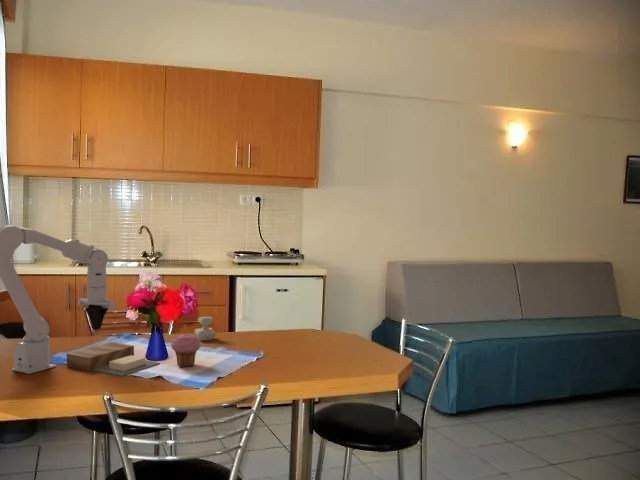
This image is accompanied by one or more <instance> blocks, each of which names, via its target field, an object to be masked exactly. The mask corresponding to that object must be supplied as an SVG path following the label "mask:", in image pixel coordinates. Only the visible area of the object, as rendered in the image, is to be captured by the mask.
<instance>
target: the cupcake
mask: <svg viewBox="0 0 640 480" xmlns="http://www.w3.org/2000/svg"><path fill="white" fill-rule="evenodd" d="M200 348H201V340H200V339H199V338H198V337H197V336H196V335H194V334H190V333H189V334H188V333H183V334H179V335H178V336H176V337H175V338H174V339H173V340H172V342H171V349H172V350H173V351H174V352H175V356H176V364H177V366H178V367H180V368H181V367H182V368H184V367H194V366H195V362H196V354H197V351H198V350H199V349H200Z"/></svg>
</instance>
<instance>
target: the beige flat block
mask: <svg viewBox="0 0 640 480" xmlns="http://www.w3.org/2000/svg"><path fill="white" fill-rule="evenodd" d="M145 360H146V357H143V356H138V355H134V356H132V355H130V356H127V357H123V358H120V359H117V360H113V361H110V362H109V368H111V369H116V370H121V371H125V370H129V369H132V368H135V367H138V366H141V365H144V364H145Z"/></svg>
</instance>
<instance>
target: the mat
mask: <svg viewBox="0 0 640 480" xmlns="http://www.w3.org/2000/svg"><path fill="white" fill-rule="evenodd" d="M160 364H161V363H160V362H157V361H152V360H151V361H150V360H146V359H145V364H144V365H141V366H138V367H135V368H132V369H129V370H125V371H121V370H116V369H111V368H109V365H106V366H102V367H99V368H95V369H92V372H93V371H94V372H99V373H104V374H107V375H112V376H118V377H123V376H127V375H131V374H133V373H136V372H135V371H137V372H139V371H138V370H140V371H142V370H141V369H143V370H146V369H149V368H152V367H154V366H158V365H160ZM145 368H146V369H145Z"/></svg>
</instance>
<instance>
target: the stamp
mask: <svg viewBox="0 0 640 480" xmlns="http://www.w3.org/2000/svg"><path fill="white" fill-rule="evenodd" d="M213 320H214V318H213V317H211V316H201V317H200V316H198V320H197V321H198V322H199V323H200V325H201V326H202V327H200V328H195V329H194V334H195V336H196V337H197V338H198V339H199V340H200V342H201V341H202V342H205V341H206V342H207V341H212V340H213V339H214V338H215V336H216V335H217V334H216V333H217V332H216V330H214V329H213V328H212V327H209V325H211V324H212V322H213Z"/></svg>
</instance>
